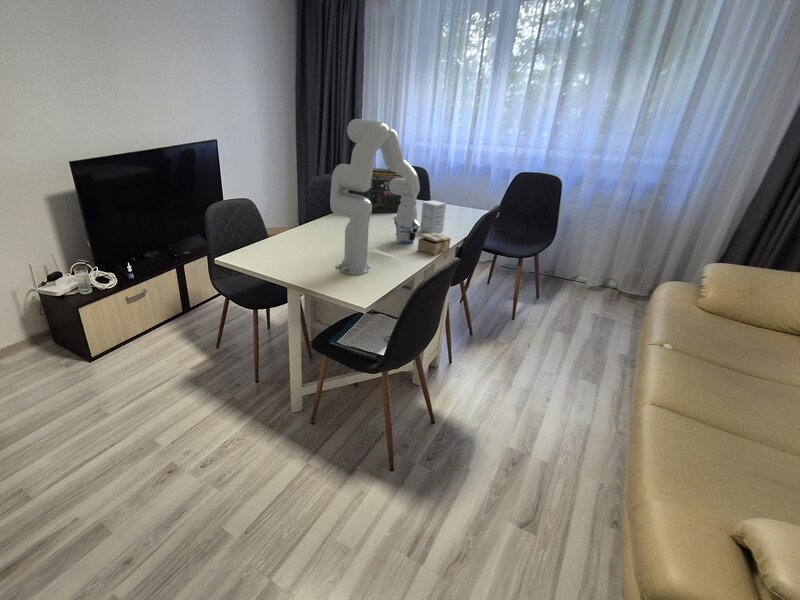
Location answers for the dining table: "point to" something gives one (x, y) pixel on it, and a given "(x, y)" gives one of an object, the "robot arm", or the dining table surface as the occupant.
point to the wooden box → (433, 246)
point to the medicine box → (403, 235)
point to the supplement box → (432, 216)
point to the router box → (381, 192)
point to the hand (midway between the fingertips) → (405, 237)
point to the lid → (434, 237)
